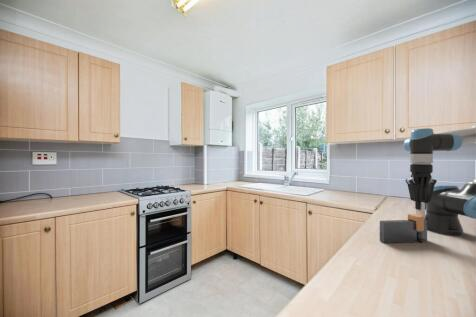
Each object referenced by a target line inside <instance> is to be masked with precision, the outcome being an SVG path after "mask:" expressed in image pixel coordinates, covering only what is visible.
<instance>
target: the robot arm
mask: <svg viewBox="0 0 476 317" xmlns="http://www.w3.org/2000/svg"><path fill="white" fill-rule="evenodd" d="M468 144H469V145H470V144H475V145H476V125H472V126H471V127H469V128H463V129H458V130H457V129H455V130H451V131H446V132H445V131H444V132H439V133H435V132H434V129H433V128H428V127H426V128H415V129H412V130H411V131H410V137H408V138H406V139H405V140H404V141H403V148H404V150H405V151H407V152H409V153H410V165H409V166H410V167H409V172H410V173H411V175H410V177H409V178H408V179H407V178H406V179H405V180H404V181H405V183H406V184H407V188H408V194H409V197H410V198H409V199H410V201H413V202H414V204H415V206H414V208H415V214H416V215H419V216H423V217H424V220H427V232H431V233H435V234H440V235H446V236H455V237H458V236H463V235H464V229H463V227H462V224H461V221H460V219H459V215H460V216H464V217H468V218H470V219H475V220H476V177H475V178H474V179H473V181H471V182H466V183H465V184H464V185H463V187H462V188H461V189H460V188H459V187H458V186H457V185H436V183H437V179H434V178H433V177H432V173H433V172H434V165H433V163H434V152H441V151H442V152H443V151H444V152H452V151H457V150H460V148H461V147H462V145H463V146H464V145H468Z"/></svg>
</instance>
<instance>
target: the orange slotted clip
mask: <svg viewBox="0 0 476 317" xmlns="http://www.w3.org/2000/svg"><path fill="white" fill-rule="evenodd" d="M407 220H413V221H416V231H424V217H423V216H419V215H416V213H409V214H408V213H407Z"/></svg>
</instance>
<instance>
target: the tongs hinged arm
mask: <svg viewBox="0 0 476 317" xmlns="http://www.w3.org/2000/svg"><path fill="white" fill-rule="evenodd" d="M383 221H384V222H382V242H381V243H384V244H385V243H414V242H415V243H416V242H417V231H416V221H386V220H383ZM417 243H418V242H417Z"/></svg>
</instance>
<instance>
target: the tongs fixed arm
mask: <svg viewBox="0 0 476 317" xmlns="http://www.w3.org/2000/svg"><path fill="white" fill-rule="evenodd" d="M384 221H413V220H408V219H397V220H396V219H395V220H392V219H391V220H390V219H389V220H379V242H381V243H383V242H382V222H384ZM426 241H428V230H427V220H424V231H417V243H419V244H420V243H423V242H426Z"/></svg>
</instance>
